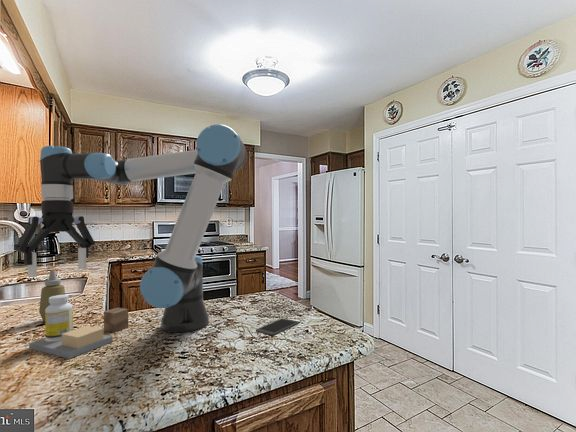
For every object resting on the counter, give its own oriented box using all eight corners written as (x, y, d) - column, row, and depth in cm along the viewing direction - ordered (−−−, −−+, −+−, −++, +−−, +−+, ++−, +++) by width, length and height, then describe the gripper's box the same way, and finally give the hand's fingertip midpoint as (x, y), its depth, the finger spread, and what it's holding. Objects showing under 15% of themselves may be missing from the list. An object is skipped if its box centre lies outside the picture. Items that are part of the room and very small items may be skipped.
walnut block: (128, 327, 103) (128, 309, 103) (114, 332, 99) (114, 313, 99) (117, 325, 105) (117, 307, 105) (103, 330, 101) (103, 311, 101)
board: (112, 341, 91) (112, 326, 91) (69, 358, 80) (69, 341, 80) (73, 333, 98) (73, 319, 98) (29, 348, 87) (28, 332, 87)
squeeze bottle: (52, 324, 107) (51, 272, 108) (33, 323, 109) (32, 271, 109) (72, 317, 115) (72, 268, 115) (54, 316, 117) (54, 268, 117)
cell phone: (254, 332, 97) (254, 329, 97) (282, 320, 108) (282, 317, 108) (272, 337, 93) (272, 334, 93) (299, 324, 104) (299, 321, 104)
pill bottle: (63, 331, 95) (62, 293, 96) (78, 333, 93) (77, 294, 93) (40, 339, 89) (39, 298, 89) (56, 341, 87) (55, 299, 87)
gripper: (90, 202, 105) (92, 265, 104) (-3, 198, 82) (-2, 279, 82) (106, 201, 102) (107, 266, 101) (13, 197, 79) (15, 281, 79)
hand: (59, 272), depth 91 cm, fingers open, 13 cm apart
